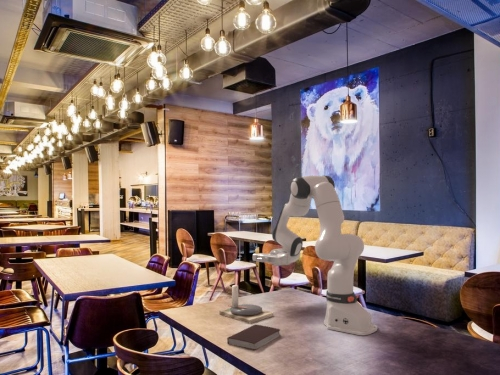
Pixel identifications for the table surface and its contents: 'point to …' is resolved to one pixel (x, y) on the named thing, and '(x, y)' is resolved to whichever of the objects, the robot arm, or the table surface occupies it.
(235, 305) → the grey post stand
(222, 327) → the table surface
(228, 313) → the plate
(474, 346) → the table surface
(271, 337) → the book
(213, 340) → the table surface
